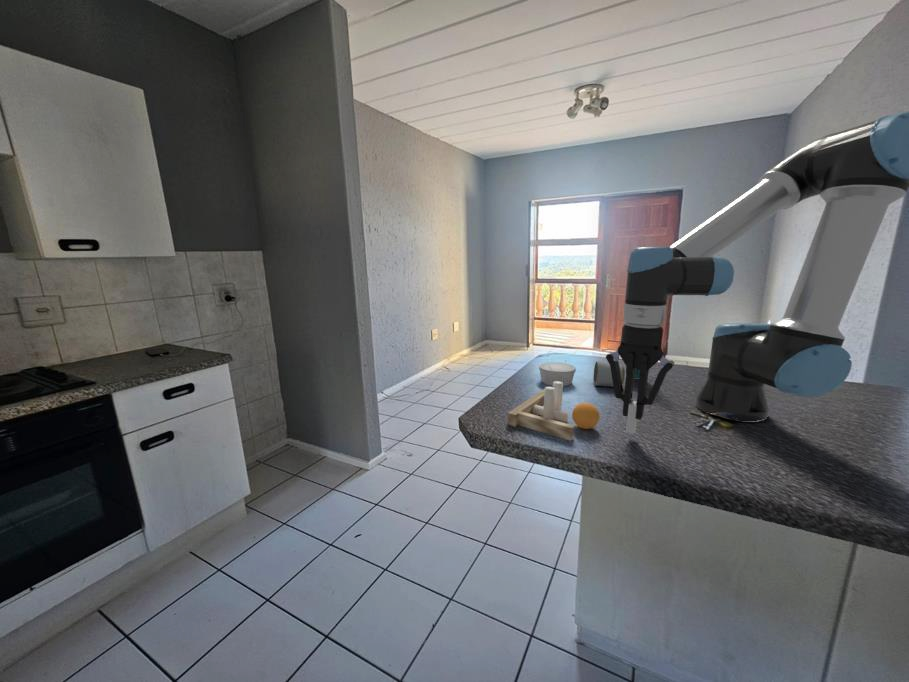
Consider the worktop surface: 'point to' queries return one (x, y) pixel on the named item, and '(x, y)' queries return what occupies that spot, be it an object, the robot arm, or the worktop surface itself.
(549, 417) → the pin
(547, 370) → the ramekin
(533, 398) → the triangular peg stand
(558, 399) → the pin
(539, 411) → the front pin
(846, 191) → the robot arm
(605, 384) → the ceramic mug
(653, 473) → the worktop surface
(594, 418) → the ball
